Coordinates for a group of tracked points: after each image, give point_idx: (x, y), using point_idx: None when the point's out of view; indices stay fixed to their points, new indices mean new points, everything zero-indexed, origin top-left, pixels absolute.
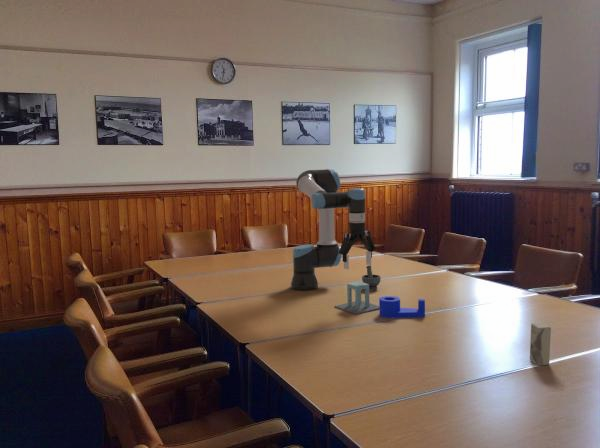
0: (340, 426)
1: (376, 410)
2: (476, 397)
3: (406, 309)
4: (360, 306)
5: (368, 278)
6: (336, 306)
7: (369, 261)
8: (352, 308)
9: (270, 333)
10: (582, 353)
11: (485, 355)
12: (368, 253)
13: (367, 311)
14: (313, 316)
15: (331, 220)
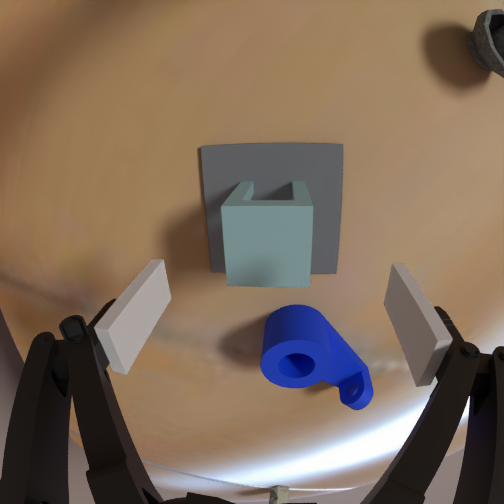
0: (70, 435)
1: None
2: (172, 477)
3: (336, 360)
4: None
5: (492, 51)
6: (202, 157)
7: (392, 318)
8: None
9: (10, 254)
10: (334, 489)
11: (252, 471)
12: (417, 357)
13: None
14: (96, 202)
15: None
